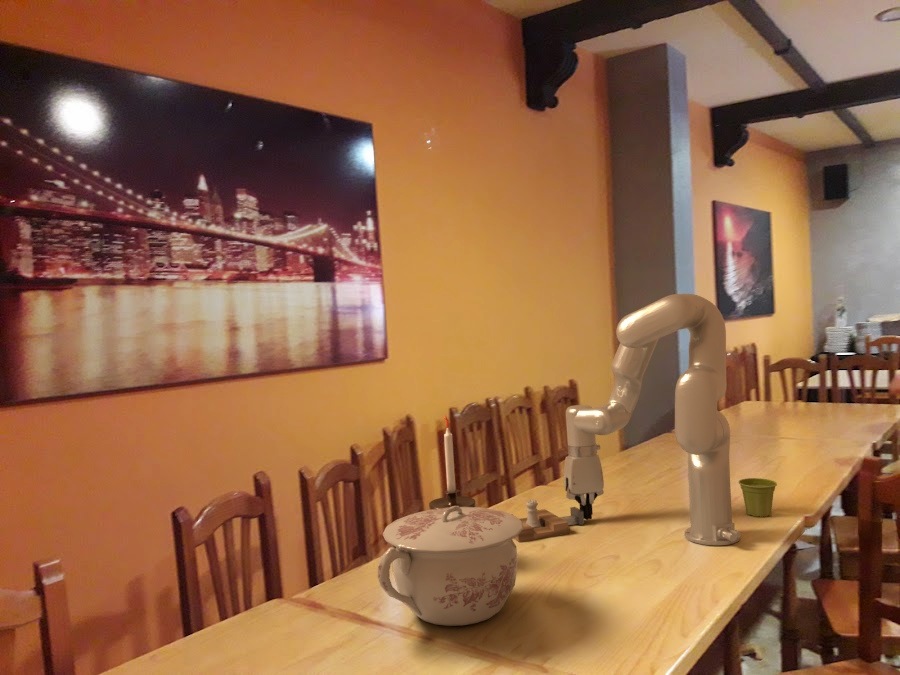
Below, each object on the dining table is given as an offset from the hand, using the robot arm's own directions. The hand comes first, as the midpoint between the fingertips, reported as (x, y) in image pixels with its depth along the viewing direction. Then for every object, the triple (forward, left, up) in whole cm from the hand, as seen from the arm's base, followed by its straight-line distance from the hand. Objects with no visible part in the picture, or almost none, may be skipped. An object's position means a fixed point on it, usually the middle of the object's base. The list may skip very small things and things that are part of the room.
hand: (586, 518), depth 187 cm
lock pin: (0, +9, -1) cm, 9 cm away
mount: (0, +16, -1) cm, 16 cm away
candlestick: (-14, +42, -1) cm, 44 cm away
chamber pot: (-39, +50, -1) cm, 63 cm away
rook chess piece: (0, +16, -1) cm, 16 cm away
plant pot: (-16, -43, -1) cm, 46 cm away
